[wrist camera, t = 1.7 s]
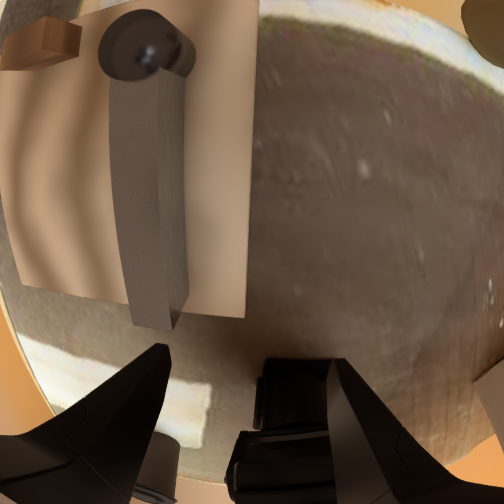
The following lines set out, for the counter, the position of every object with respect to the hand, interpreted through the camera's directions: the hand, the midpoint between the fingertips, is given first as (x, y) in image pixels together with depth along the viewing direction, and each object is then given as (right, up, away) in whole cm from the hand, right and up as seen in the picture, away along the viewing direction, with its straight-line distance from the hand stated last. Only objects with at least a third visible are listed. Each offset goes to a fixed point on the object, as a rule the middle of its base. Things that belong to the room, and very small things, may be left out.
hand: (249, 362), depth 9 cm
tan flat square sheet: (-11, +10, +8) cm, 17 cm away
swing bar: (-5, +8, +7) cm, 12 cm away
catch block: (-14, +18, +4) cm, 23 cm away
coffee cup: (-12, -22, +24) cm, 35 cm away
